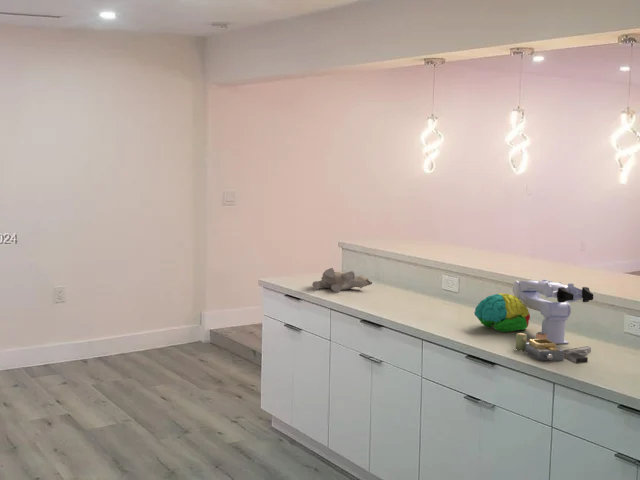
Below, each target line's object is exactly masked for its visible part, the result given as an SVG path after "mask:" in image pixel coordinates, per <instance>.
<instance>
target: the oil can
mask: <svg viewBox="0 0 640 480" xmlns="http://www.w3.org/2000/svg"><path fill="white" fill-rule="evenodd" d="M515 335H516V336H515V350H516V349H517V350H516V351H519V350H522V351H521V352H523V351H524V350H525V343H527V338H528V335H527V334H526V333H523V332H519V333H516V334H515ZM524 352H525V351H524Z"/></svg>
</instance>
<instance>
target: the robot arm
mask: <svg viewBox="0 0 640 480" xmlns="http://www.w3.org/2000/svg"><path fill="white" fill-rule="evenodd" d="M512 293H513V296H516V297H518V298H519V300H520V301H521V302H522V303H523V304H524V305H525V306H526V308H527V309H530V310H534V311H537V312H539V313H540V315H542V316H543V317H544V319H543V320H542V322H541V332H545V333H546V334H547V339H549V340H550V341H552V342H554V343H556V345H558V344H562V345H563V344H570V343H569V341H567V340H565V334H566V321H568V319H569V317H570V316H571V314H572V308H571V307H572V306H571V304H570V303H573V302H577V301H579V300H581V299H582V303H588V302H590V301H594V294H593V292H592V291H590V287H587V286H582V288H579V287H576V286H575V284H574V283H569V282H568V283H567V285H566V284H563V283H562V282H553V280H548V279H546V278H543V279H542V280H539V281H538V280H519V281H518V280H515V281H514V282H513V284H512ZM541 295H542V296H545V298H547V299H548V298H555V299H556V300H557V301H555V302H553V301H550V300H546V299H543V298H541Z"/></svg>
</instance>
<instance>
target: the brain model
mask: <svg viewBox="0 0 640 480" xmlns="http://www.w3.org/2000/svg"><path fill="white" fill-rule="evenodd" d="M529 311H530V310H529V308H527V307H526V306H525V305H524V304H523V303H522V301H521V300H520V299H519V298H518V297H516V296H514V294H509V293H501V292H500V293H496V294H491V295H489V296H488V295H487V297H485V298H483V299H482V300H480V302H478V303H477V305H476V307H475V309H474V316H475V317H476V318H477V319H478V320H479V322H480V324H481V325H482V326H484V327H486V328H493V329H495V330H496V331H497V332H501V333H503V332H504V333H509V332H516V331H522V330H526V328H528V326H529V323H530V320H531V319H530V318H531V315H530V312H529Z"/></svg>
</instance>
